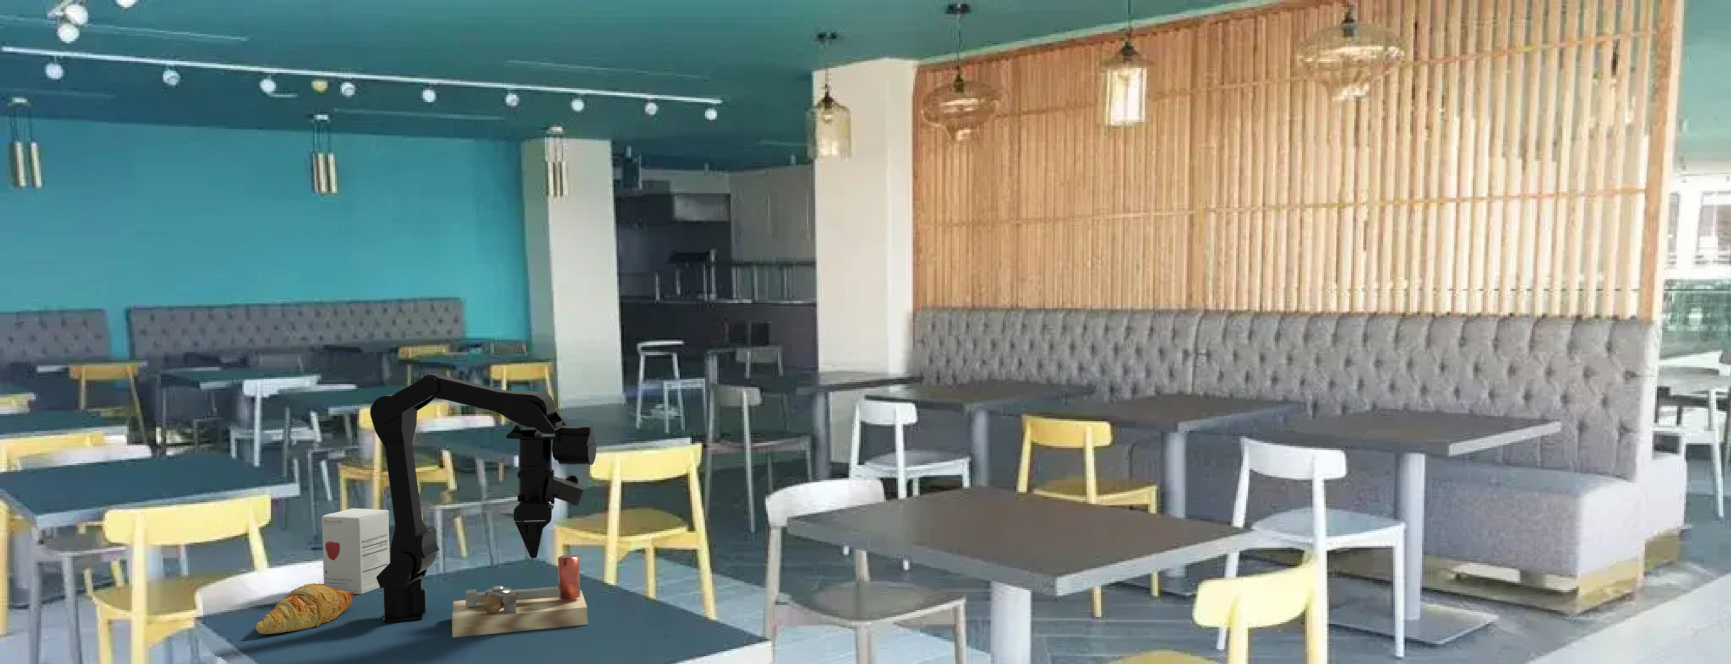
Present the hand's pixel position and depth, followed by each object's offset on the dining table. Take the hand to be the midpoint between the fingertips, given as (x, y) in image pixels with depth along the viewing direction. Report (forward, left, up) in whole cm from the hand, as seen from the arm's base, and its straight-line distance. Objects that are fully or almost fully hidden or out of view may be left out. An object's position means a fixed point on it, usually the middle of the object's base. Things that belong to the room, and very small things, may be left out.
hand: (535, 552), depth 216 cm
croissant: (-39, +11, -12) cm, 42 cm away
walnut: (-7, -7, -8) cm, 13 cm away
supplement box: (-32, +35, -12) cm, 49 cm away
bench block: (-3, -2, -11) cm, 12 cm away
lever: (-2, -2, -8) cm, 9 cm away
